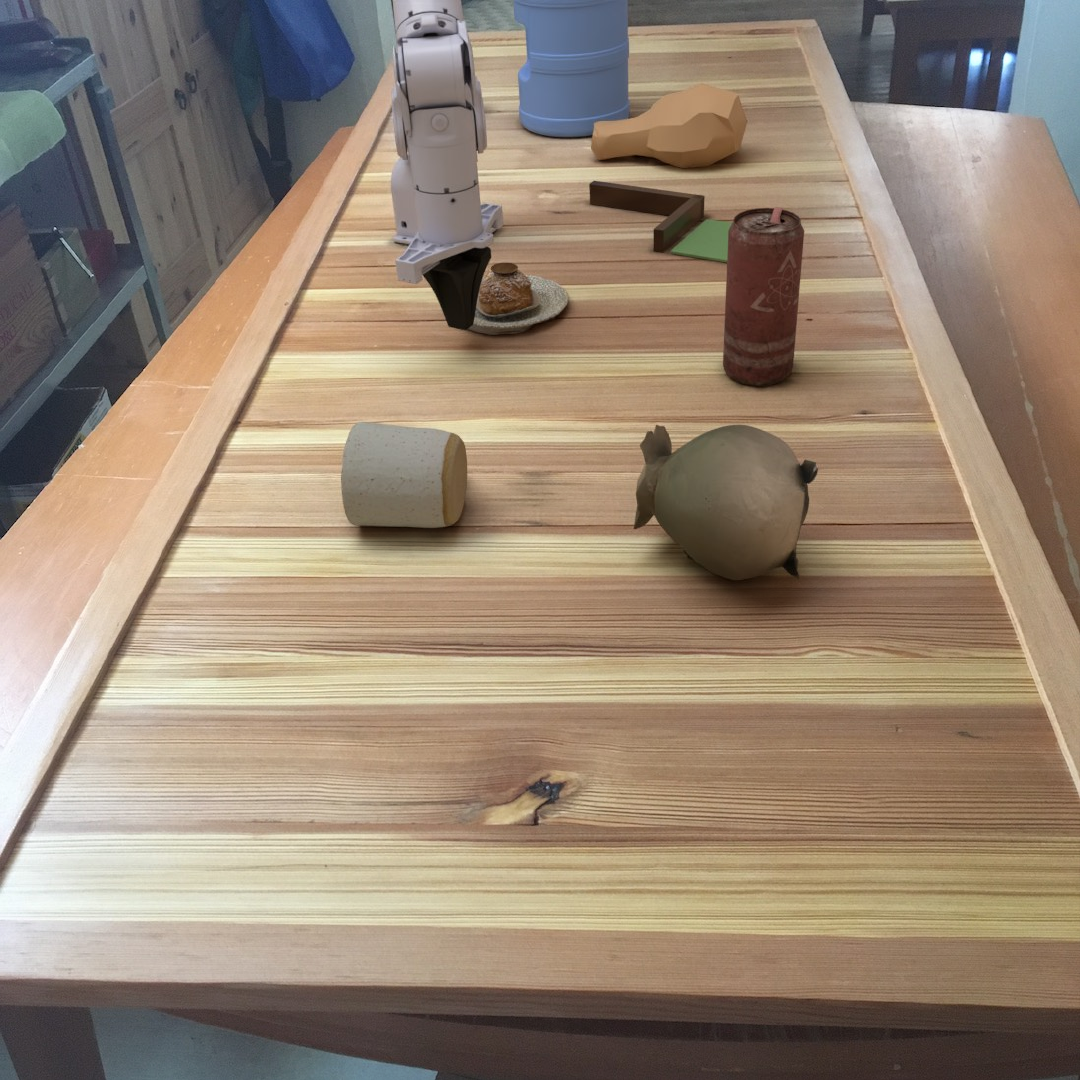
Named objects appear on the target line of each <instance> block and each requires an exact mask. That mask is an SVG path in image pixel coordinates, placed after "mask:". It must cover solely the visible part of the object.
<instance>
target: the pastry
mask: <svg viewBox="0 0 1080 1080" xmlns="http://www.w3.org/2000/svg"><path fill="white" fill-rule="evenodd" d="M568 301H569V294H568V292H567V290H566V289H565V288H564V287H563V286H562V285H560V284H559V283H558V282H556V281H553V280H552V279H551V280H550V279H548V278H545V277H542V276H538V275H532V274H525V273H523V272H522V271H521V270H520V269H519V266H518V265H517V264H515V263H512V262H498V263H495V264H493V265H491V266H490V271H489V273H488V274H487V275H485V276H483V278H482V281H481V285H480V289H479V294H478V299H477V306H476V312H475V318H474V323H473V325H472V326H471V327H470V328H468V329H467V330H468V331H472V332H475V333H480V334H486V335H491V336H494V335H495V336H496V335H504V334H505V335H508V334H510V335H513V334H519V333H524V332H527V331H529V330H530V329H531V327H532V326H533V325H535V324H538V323H546V322H548V321H549V320H554V319H555V318H556V317H557V316H560V314H561V312H562V311H563V310H564V309H565V308H566V306H567V305H568V303H569V302H568Z"/></svg>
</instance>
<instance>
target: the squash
mask: <svg viewBox="0 0 1080 1080" xmlns="http://www.w3.org/2000/svg"><path fill="white" fill-rule="evenodd" d="M747 125H748V119H747V116H746V112H745V110H744V108H743V103H742V101H741V99H740V96H739V94H738V93H737V92H735V91H731V90H727V89H723V88H720V87H717V86H713V85H710V84H707V83H703V82H702V83H701V82H700V83H698V84H697V85H694V86H691V87H689V88H687V89H684V90H680V91H676V92H672V93H668V94H664V95H663V96H662V97H660V98H659V99H658V100H657V101H655V102H654V103H653V104H652V106H651V107H650V108H649V110H647V111H645V112H643V113H641V114H640V115H638V116H636V117H631V118H630V117H629V118H628V119H623V120H617V121H599V122H596V123H594V131H593V135H591V143H590V149H591V151H592V153H593V155H594V157H595V158H596V160H598V161H604V160H609V159H614V158H619V157H629V156H630V157H631V156H642V157H643V156H644V157H650V158H655V159H657V160H659V161H660V162H663V163H665V164H668V165H672V166H674V167H678V168H681V169H688V168H704V167H709V166H711V165H713V164H716V163H717V162H719V161H721V160H723V159H725V158H727V157H729V156H731V155H732V154H734V153H736V152H737V151H738V150H740V148H741V146H742V142H743V139H744V135H745V132H746V128H747Z"/></svg>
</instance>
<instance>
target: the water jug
mask: <svg viewBox="0 0 1080 1080" xmlns="http://www.w3.org/2000/svg"><path fill="white" fill-rule="evenodd" d="M512 1H513V3H512V4H513V18H514V20H515V21H516V22H517V23H519V24H521V25H523V26H524V29H525V47H526V62H525V63H524V64H523V65H522V66H521V67H520V68H519V70H518V71H517V72H518V73H517V81H518V98H519V101H518V102H519V105H518V117H519V121H520V124H521V125H522V126H523V127H524V129H526V130H528V131H529V132H531V133H534V134H537V135H541V136H545V137H553V138H583V137H592V135H593V131H594V123H596V122H599V121H617V120H623V119H629V118H630V110H631V109H630V106H631V105H630V104H631V103H630V99H629V59H630V38H629V8H628V7H629V4H628V3H629V0H512Z"/></svg>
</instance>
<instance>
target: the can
mask: <svg viewBox="0 0 1080 1080" xmlns="http://www.w3.org/2000/svg"><path fill="white" fill-rule="evenodd" d="M731 223H732V225H731V226H730V228H729V230H728V254H727V263H726V281H725V282H726V283H725V304H724V306H725V307H724V325H723V326H724V329H723V348H722V349H723V350H722V352H723V353H722V366H723V370H724V372H725V373H726V374H727V376H728V377H729V378H730V379H731V380H733V381H735V382H736V383H738V384H742V385H745V386H753V387H763V386H764V387H767V386H772V385H776V384H778V383H780V382H783V381H784V380H785V379H786V378H788V376H789V375H790V374H791V372H792V371H793V369H794V361H795V349H796V338H797V325H798V311H799V301H800V290H801V289H800V288H801V278H802V277H801V275H802V265H803V264H802V263H803V252H804V242H805V241H804V240H805V229H804V227H803V225H802V220H801V218H800V216H799V215H798V214H796V213H794V212H793V211H789V210H787V209H783V207H774V208H773V207H760V208H759V207H757V208H751V209H748V210H744V211H742V212H739V213H738V214H736V215H734V217H733V220H732V222H731Z"/></svg>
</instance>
